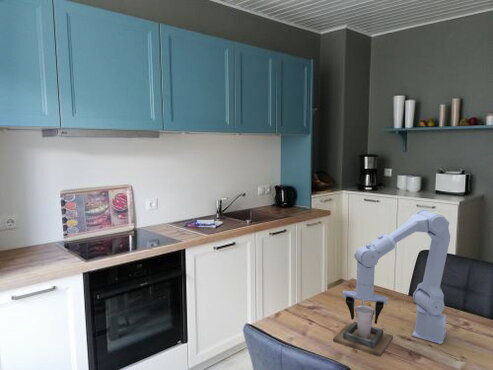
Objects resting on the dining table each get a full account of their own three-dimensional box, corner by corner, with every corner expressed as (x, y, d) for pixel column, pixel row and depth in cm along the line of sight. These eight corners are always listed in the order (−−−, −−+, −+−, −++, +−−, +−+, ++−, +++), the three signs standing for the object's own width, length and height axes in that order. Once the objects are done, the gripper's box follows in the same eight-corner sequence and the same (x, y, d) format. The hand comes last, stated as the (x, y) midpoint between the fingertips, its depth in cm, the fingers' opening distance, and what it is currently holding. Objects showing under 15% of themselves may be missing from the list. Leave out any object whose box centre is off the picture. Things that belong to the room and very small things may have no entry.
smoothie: (356, 329, 134) (357, 292, 132) (375, 333, 131) (376, 295, 129) (352, 337, 128) (353, 298, 126) (372, 342, 125) (373, 302, 123)
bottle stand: (392, 338, 129) (393, 329, 129) (380, 356, 118) (380, 347, 118) (348, 325, 139) (348, 317, 139) (333, 341, 128) (333, 332, 127)
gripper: (388, 281, 127) (387, 319, 129) (345, 275, 133) (344, 311, 135) (387, 288, 121) (385, 328, 122) (342, 282, 127) (341, 320, 128)
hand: (364, 320), depth 128 cm, fingers open, 7 cm apart
